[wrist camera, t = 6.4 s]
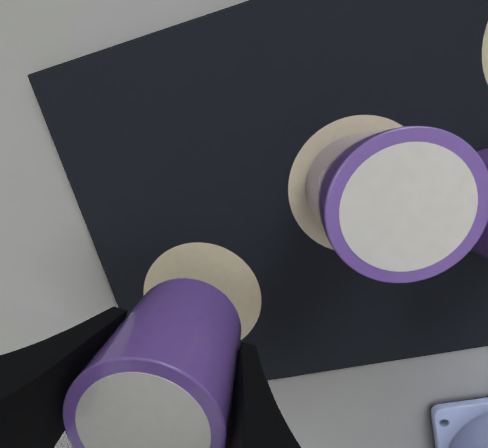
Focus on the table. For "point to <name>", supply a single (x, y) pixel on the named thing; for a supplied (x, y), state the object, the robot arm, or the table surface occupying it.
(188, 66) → the mat
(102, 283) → the table surface
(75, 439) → the purple canister
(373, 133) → the purple white-topped cylinder
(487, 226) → the purple cylinder white cap
